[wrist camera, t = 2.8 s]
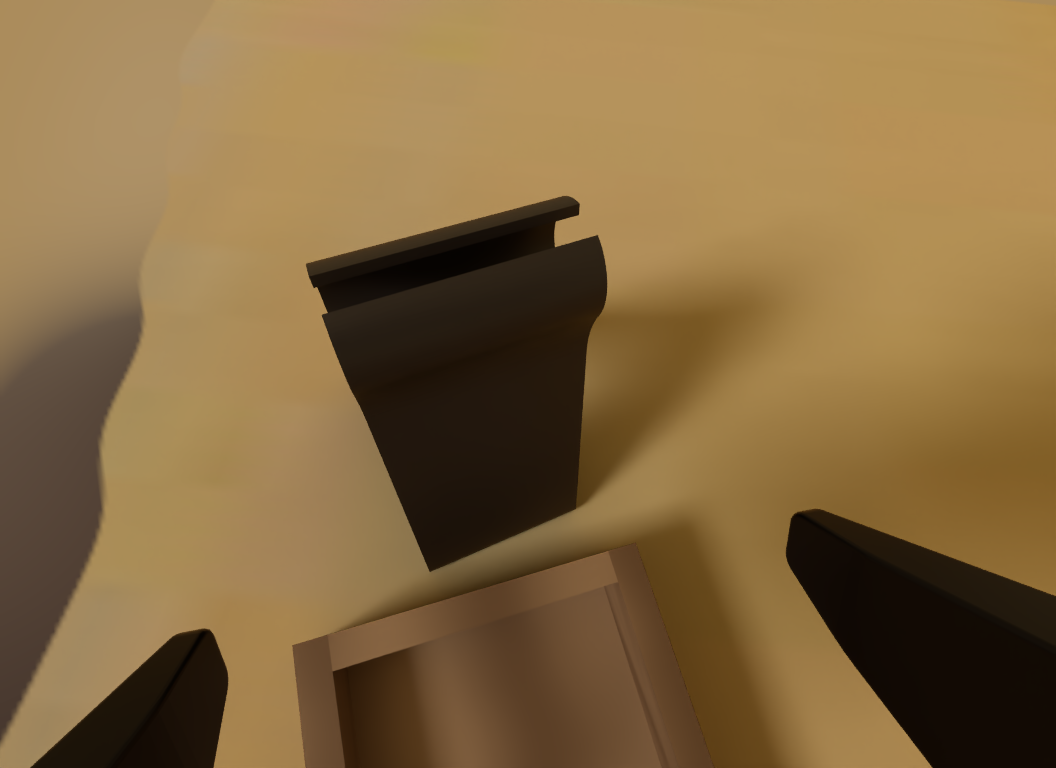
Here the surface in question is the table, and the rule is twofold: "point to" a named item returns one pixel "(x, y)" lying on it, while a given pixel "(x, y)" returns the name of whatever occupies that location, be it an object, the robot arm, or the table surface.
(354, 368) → the phone stand
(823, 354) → the table surface
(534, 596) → the cradle
